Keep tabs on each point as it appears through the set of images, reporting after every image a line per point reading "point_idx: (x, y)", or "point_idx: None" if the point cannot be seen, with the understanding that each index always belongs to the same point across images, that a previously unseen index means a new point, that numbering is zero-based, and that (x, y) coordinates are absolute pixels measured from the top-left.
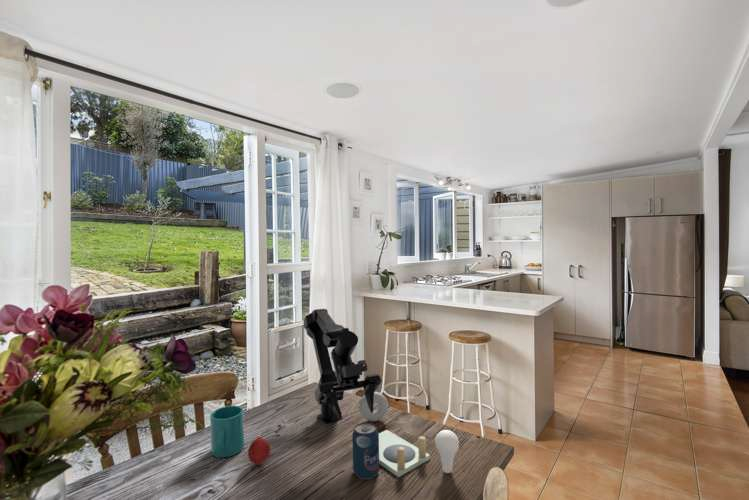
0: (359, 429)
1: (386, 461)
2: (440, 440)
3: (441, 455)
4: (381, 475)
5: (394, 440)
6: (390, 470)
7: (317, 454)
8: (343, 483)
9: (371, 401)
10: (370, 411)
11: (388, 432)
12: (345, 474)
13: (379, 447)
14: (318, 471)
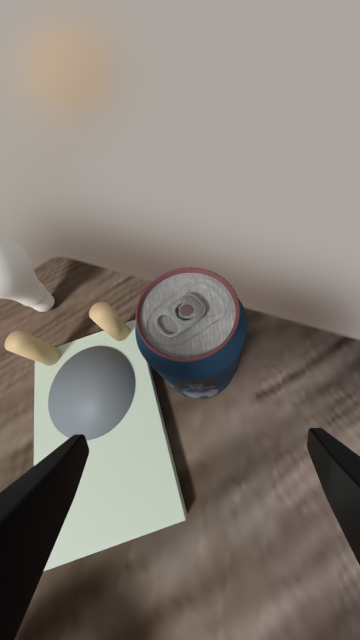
0: (213, 321)
1: (139, 368)
2: (7, 247)
3: (34, 278)
4: None
5: None
6: None
7: (348, 547)
8: (265, 345)
9: (15, 495)
10: (83, 465)
11: None
12: (254, 377)
13: (122, 448)
14: (337, 424)
